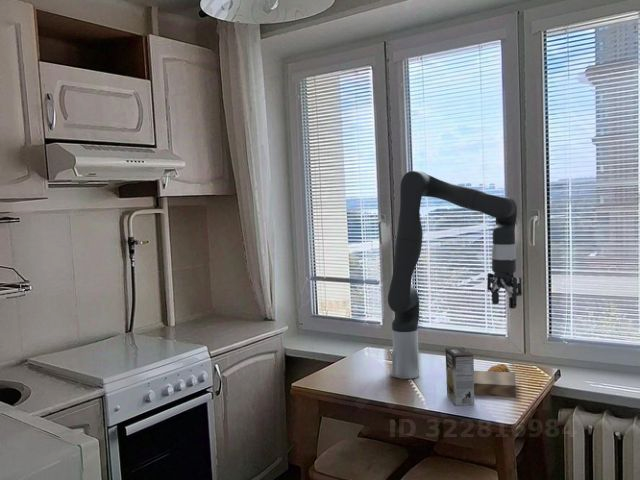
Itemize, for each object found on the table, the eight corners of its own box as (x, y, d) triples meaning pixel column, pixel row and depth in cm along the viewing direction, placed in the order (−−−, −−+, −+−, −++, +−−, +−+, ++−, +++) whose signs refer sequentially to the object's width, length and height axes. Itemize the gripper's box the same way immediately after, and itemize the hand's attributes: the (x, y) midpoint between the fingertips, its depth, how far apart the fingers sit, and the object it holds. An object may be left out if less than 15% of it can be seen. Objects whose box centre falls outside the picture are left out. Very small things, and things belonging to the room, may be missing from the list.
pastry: (497, 381, 196) (496, 370, 195) (480, 377, 201) (480, 367, 201) (512, 375, 202) (511, 365, 201) (495, 371, 207) (495, 361, 207)
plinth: (470, 395, 182) (470, 383, 182) (473, 381, 196) (472, 370, 195) (516, 397, 178) (515, 385, 178) (515, 384, 191) (515, 372, 191)
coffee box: (446, 396, 182) (444, 347, 181) (465, 395, 183) (463, 346, 182) (455, 406, 173) (453, 355, 172) (475, 404, 174) (474, 353, 173)
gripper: (480, 256, 189) (481, 303, 190) (509, 260, 176) (509, 311, 177) (499, 255, 192) (499, 301, 193) (528, 258, 179) (528, 308, 180)
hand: (503, 306), depth 185 cm, fingers open, 8 cm apart
